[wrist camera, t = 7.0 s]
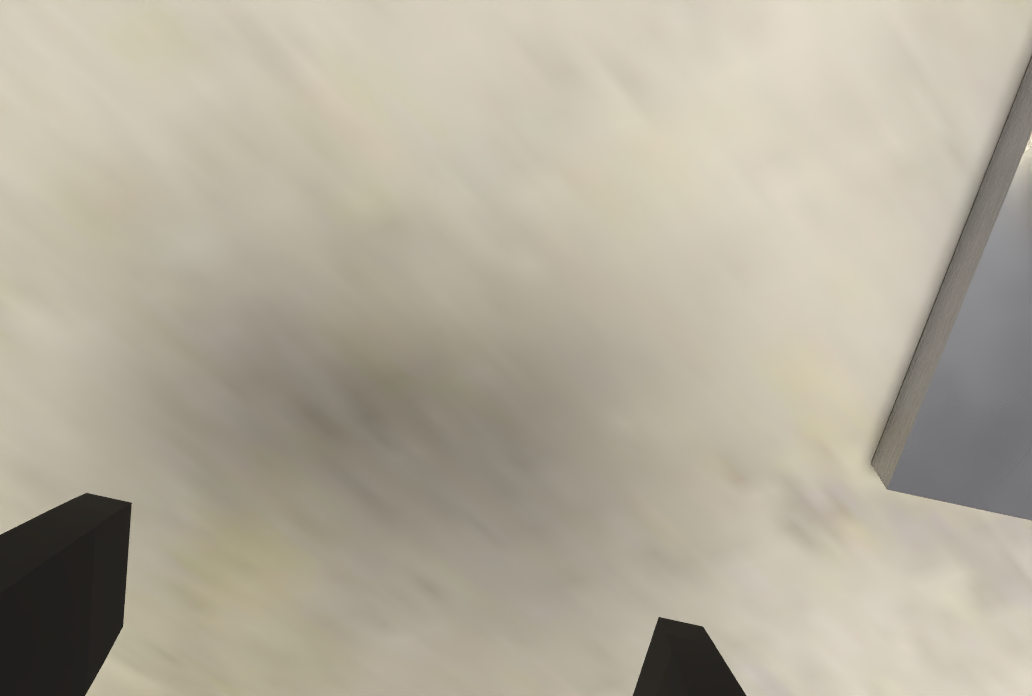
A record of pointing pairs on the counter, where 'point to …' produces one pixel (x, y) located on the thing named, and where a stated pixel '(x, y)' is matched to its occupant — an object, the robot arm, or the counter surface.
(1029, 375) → the carrier
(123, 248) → the counter surface
